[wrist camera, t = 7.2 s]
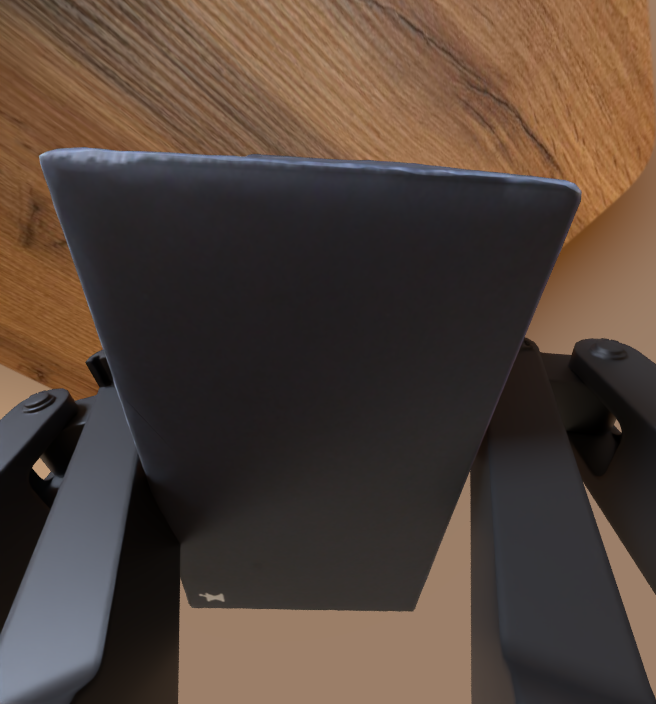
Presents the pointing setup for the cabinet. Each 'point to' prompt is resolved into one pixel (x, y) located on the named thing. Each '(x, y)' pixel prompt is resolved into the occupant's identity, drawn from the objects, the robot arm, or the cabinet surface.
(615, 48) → the cabinet surface
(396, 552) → the small box
